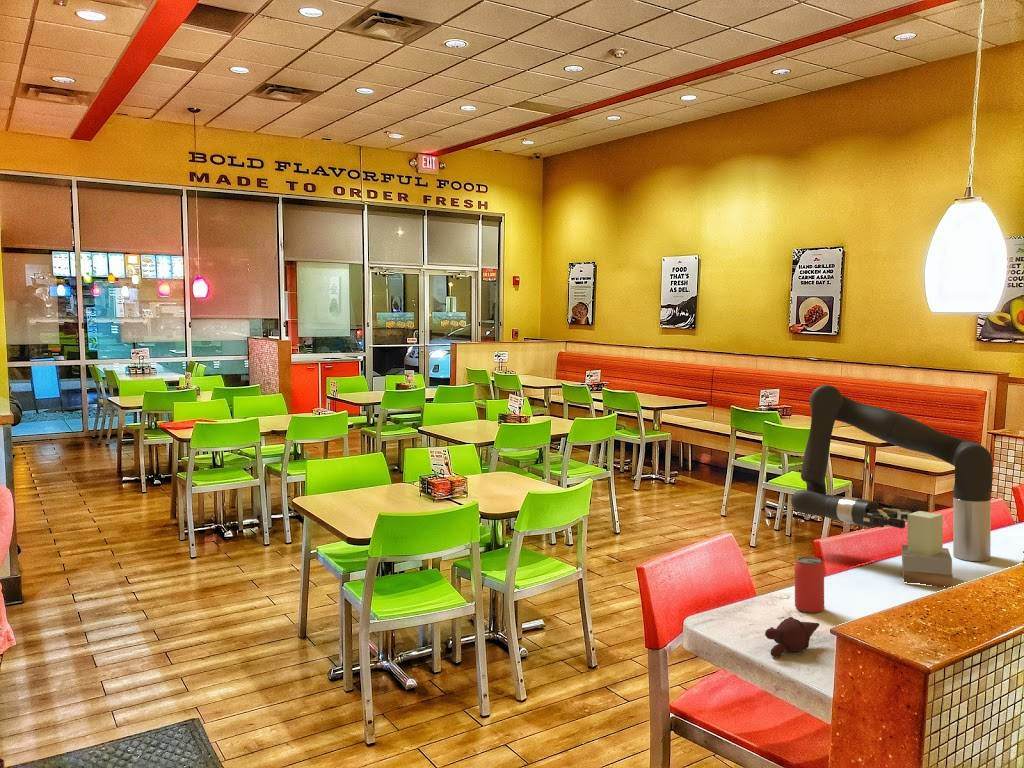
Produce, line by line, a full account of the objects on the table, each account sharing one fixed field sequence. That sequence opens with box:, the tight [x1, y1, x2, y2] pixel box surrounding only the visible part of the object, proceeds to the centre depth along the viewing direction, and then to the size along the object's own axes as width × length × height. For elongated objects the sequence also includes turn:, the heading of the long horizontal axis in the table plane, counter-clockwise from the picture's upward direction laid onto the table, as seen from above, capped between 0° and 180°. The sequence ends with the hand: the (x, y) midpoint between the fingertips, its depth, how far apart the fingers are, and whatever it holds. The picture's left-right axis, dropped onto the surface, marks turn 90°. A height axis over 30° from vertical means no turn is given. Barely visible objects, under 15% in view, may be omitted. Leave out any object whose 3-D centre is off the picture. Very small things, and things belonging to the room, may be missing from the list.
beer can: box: [793, 556, 825, 614], centre depth 182 cm, size 7×7×12 cm
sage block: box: [906, 510, 944, 556], centre depth 200 cm, size 6×6×10 cm
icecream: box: [764, 616, 820, 658], centre depth 159 cm, size 7×7×15 cm
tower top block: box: [901, 544, 953, 576], centre depth 200 cm, size 11×11×4 cm
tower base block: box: [901, 563, 953, 589], centre depth 201 cm, size 11×11×4 cm
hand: (913, 522), depth 203 cm, fingers open, 8 cm apart
